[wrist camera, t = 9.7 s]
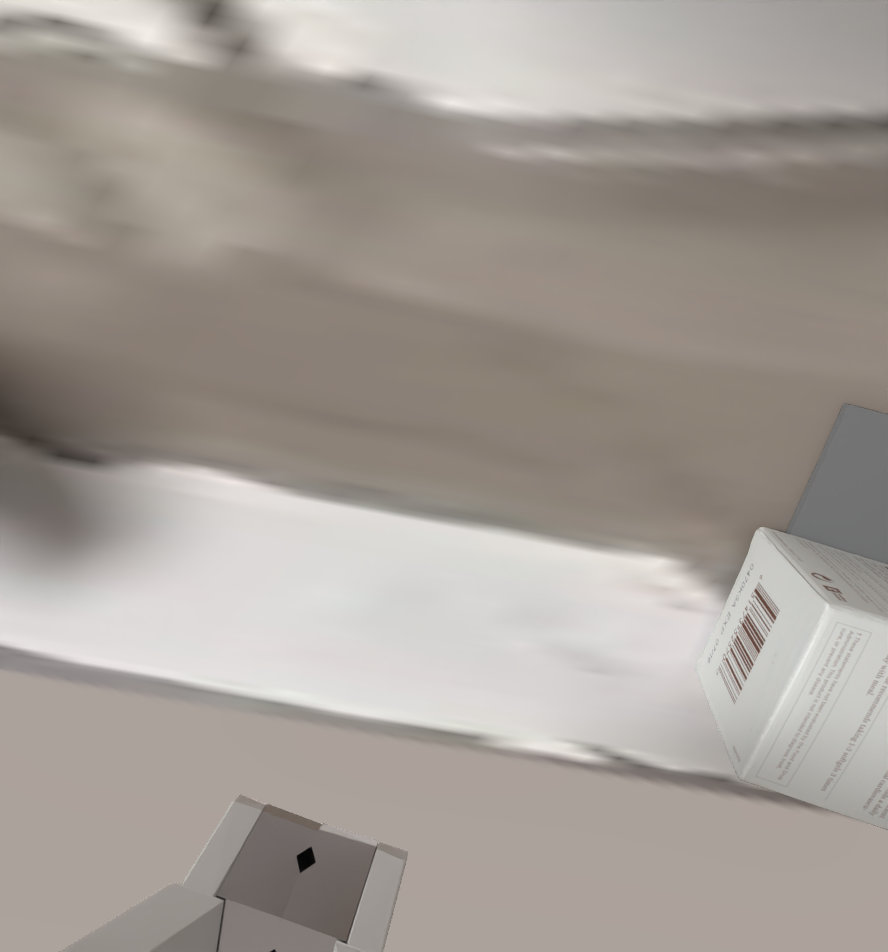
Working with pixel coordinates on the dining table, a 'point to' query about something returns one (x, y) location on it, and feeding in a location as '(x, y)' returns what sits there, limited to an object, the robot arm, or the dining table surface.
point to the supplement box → (805, 675)
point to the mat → (849, 488)
